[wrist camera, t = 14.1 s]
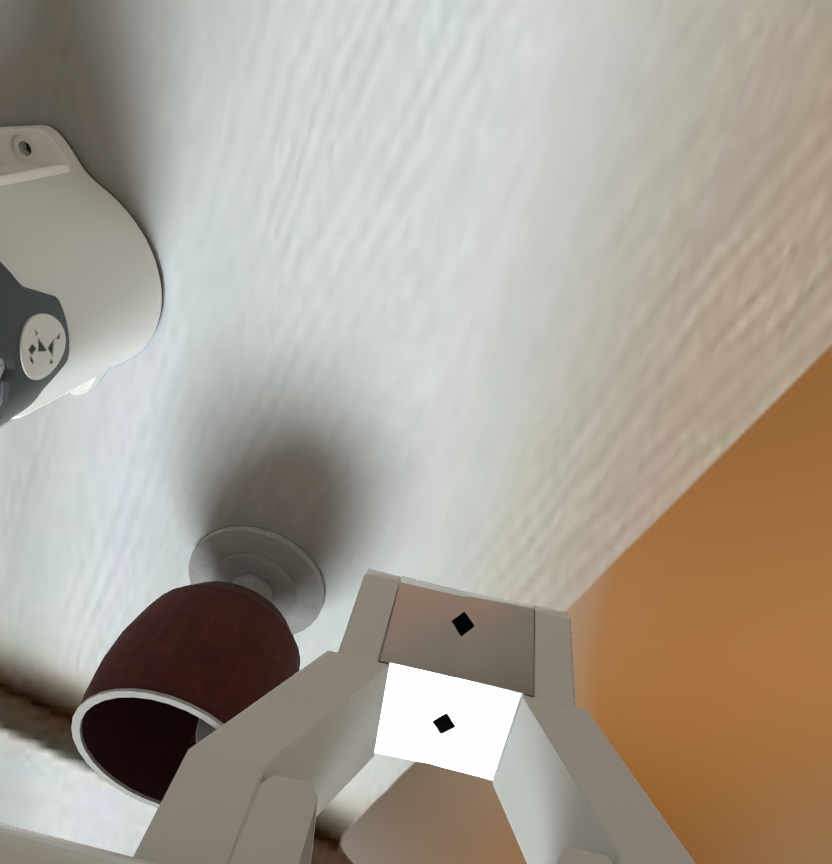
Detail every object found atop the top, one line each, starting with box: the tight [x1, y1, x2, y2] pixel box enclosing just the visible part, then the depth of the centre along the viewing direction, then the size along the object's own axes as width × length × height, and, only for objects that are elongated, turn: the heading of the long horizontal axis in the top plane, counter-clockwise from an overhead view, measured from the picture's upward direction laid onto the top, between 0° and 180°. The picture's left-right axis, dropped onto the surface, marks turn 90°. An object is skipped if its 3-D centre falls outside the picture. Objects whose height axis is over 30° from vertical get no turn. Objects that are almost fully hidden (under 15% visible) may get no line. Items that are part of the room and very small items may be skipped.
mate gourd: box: [71, 526, 325, 808], centre depth 49 cm, size 16×14×20 cm
